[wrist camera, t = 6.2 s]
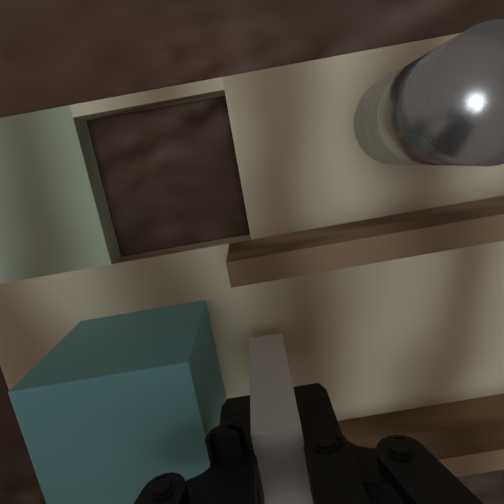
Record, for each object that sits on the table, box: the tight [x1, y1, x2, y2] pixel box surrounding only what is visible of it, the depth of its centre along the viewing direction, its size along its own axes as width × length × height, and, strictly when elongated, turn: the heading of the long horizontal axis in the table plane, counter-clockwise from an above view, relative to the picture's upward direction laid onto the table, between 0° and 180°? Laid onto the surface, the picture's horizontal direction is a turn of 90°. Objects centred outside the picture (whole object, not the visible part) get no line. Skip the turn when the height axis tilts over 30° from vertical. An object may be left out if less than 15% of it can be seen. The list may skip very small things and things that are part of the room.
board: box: [0, 33, 504, 421], centre depth 19 cm, size 28×18×2 cm, turn 100°
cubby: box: [226, 195, 504, 477], centre depth 18 cm, size 16×11×4 cm
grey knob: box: [354, 19, 504, 166], centre depth 14 cm, size 4×4×7 cm
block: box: [8, 300, 227, 504], centre depth 17 cm, size 6×6×6 cm
